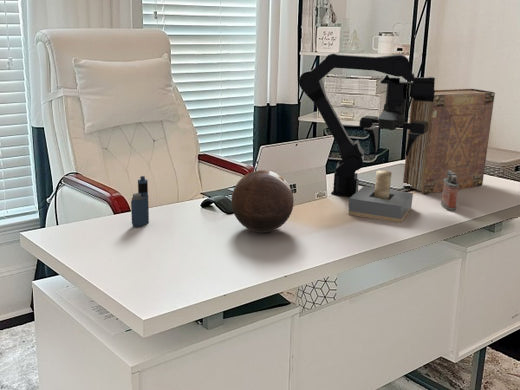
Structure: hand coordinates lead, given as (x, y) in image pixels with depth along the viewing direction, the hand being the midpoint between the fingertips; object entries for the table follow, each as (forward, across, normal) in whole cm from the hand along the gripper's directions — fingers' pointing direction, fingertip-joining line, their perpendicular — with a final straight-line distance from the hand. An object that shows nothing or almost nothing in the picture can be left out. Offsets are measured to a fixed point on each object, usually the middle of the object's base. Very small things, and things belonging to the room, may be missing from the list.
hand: (390, 154), depth 178 cm
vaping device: (+13, -46, -58) cm, 75 cm away
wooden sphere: (+13, -18, -46) cm, 51 cm away
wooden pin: (+12, +2, -15) cm, 19 cm away
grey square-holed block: (+13, +2, -15) cm, 20 cm away
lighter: (+13, +18, 0) cm, 22 cm away
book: (+13, +12, +22) cm, 28 cm away
